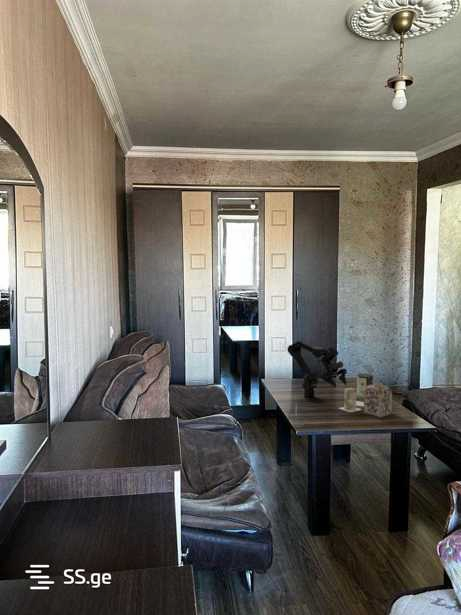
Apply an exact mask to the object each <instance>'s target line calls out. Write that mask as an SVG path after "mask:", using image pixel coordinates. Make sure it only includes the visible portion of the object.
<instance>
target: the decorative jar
mask: <svg viewBox="0 0 461 615" xmlns="http://www.w3.org/2000/svg"><path fill="white" fill-rule="evenodd" d="M363 402H364V407H363V413H365V414H369V415H372V416H375V417H379V418H383V417H384V416H385V417H386V416H388V415H391V414H392V411H393V391H392V390H391V388H390V387H389V386H387V385H383V383H382V382H378V381H377V382H373V385H369V386H367V388H366V389H365V390H364V397H363Z"/></svg>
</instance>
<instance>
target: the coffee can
mask: <svg viewBox="0 0 461 615" xmlns="http://www.w3.org/2000/svg"><path fill="white" fill-rule="evenodd" d="M356 376H357V378H356V379H357V384H356V385H357V386H356V390H357V396H356V397H360V398H364V390H365V389H366V388H367V386H369V385H373V384H374V375H373V374H370V373H358V374H357V375H356Z"/></svg>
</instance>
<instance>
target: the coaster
mask: <svg viewBox="0 0 461 615" xmlns="http://www.w3.org/2000/svg"><path fill="white" fill-rule="evenodd" d="M357 406H358V407H363V408H364V401H359V400H356V407H357Z"/></svg>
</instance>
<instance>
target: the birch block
mask: <svg viewBox="0 0 461 615" xmlns="http://www.w3.org/2000/svg"><path fill="white" fill-rule="evenodd" d="M343 397H344V402H343V403H344V404H343V407H344V409H347V410H350V411H351V410H355V409H356V408H357V405H356V401H357V397H358V396H357V388H352V387H348V388H344V396H343Z"/></svg>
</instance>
